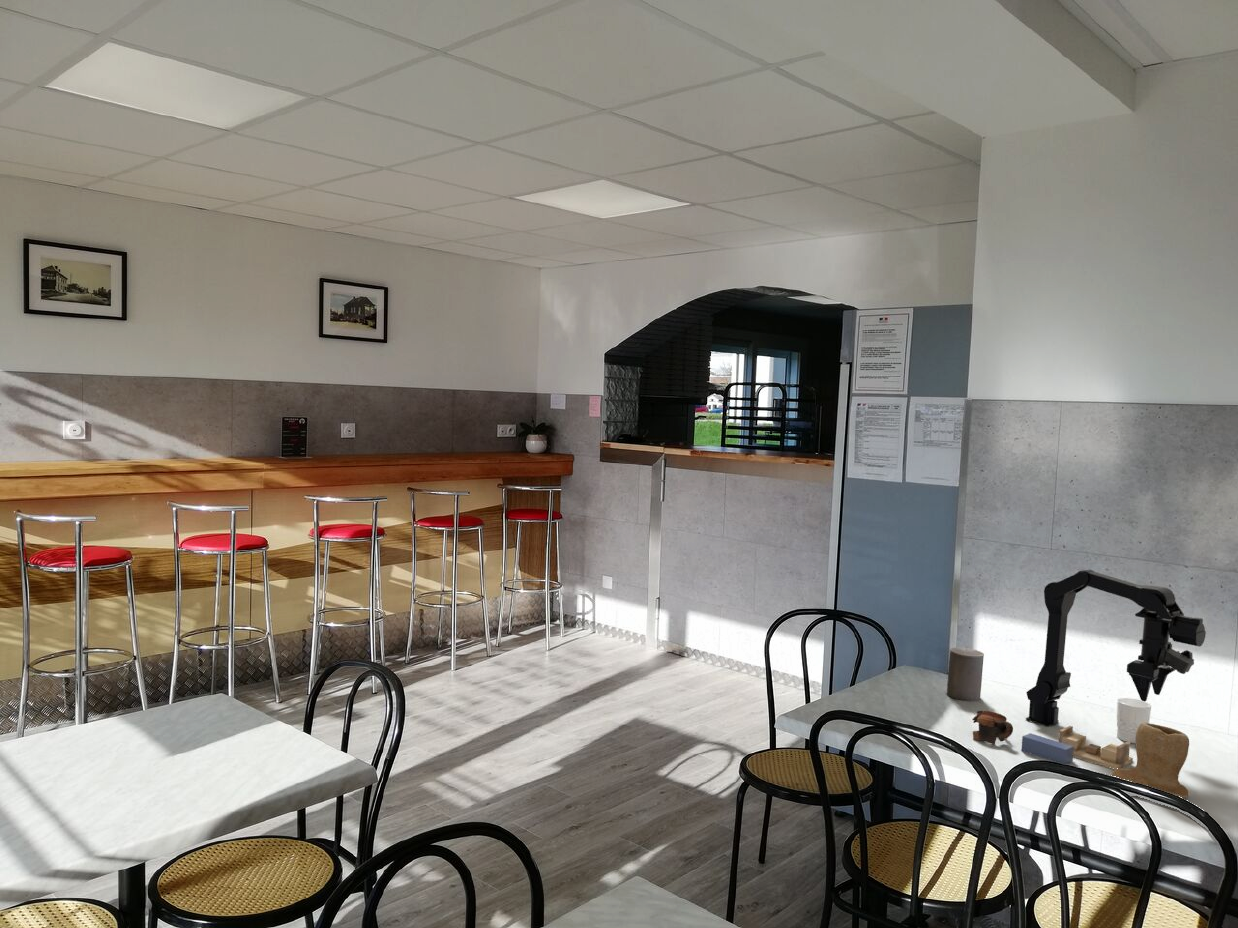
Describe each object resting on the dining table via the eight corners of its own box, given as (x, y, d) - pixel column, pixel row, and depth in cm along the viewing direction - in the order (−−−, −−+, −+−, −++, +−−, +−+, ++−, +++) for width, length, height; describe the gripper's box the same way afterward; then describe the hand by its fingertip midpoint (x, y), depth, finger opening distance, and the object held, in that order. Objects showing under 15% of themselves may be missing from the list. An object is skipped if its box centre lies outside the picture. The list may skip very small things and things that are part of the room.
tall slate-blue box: (1021, 751, 233) (1022, 736, 233) (1029, 748, 236) (1030, 733, 236) (1064, 765, 225) (1066, 749, 225) (1072, 762, 227) (1073, 746, 227)
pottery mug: (961, 737, 242) (966, 707, 245) (984, 749, 246) (989, 719, 249) (1000, 741, 232) (1005, 709, 235) (1024, 753, 236) (1028, 722, 239)
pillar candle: (941, 695, 277) (945, 646, 276) (953, 688, 285) (957, 641, 284) (973, 703, 271) (977, 653, 270) (985, 696, 279) (989, 647, 277)
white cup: (1153, 746, 241) (1156, 708, 240) (1120, 742, 242) (1123, 705, 242) (1142, 736, 248) (1145, 699, 248) (1110, 732, 250) (1113, 696, 249)
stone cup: (1190, 790, 212) (1195, 726, 211) (1185, 807, 202) (1191, 740, 201) (1116, 773, 221) (1121, 711, 220) (1108, 788, 211) (1113, 724, 210)
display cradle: (1116, 769, 223) (1117, 749, 222) (1053, 750, 234) (1055, 731, 234) (1132, 760, 229) (1134, 741, 229) (1070, 742, 240) (1072, 724, 240)
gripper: (1178, 649, 221) (1172, 713, 222) (1203, 639, 234) (1198, 699, 235) (1128, 639, 230) (1123, 700, 231) (1155, 629, 242) (1150, 688, 243)
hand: (1150, 697), depth 235 cm, fingers open, 9 cm apart
